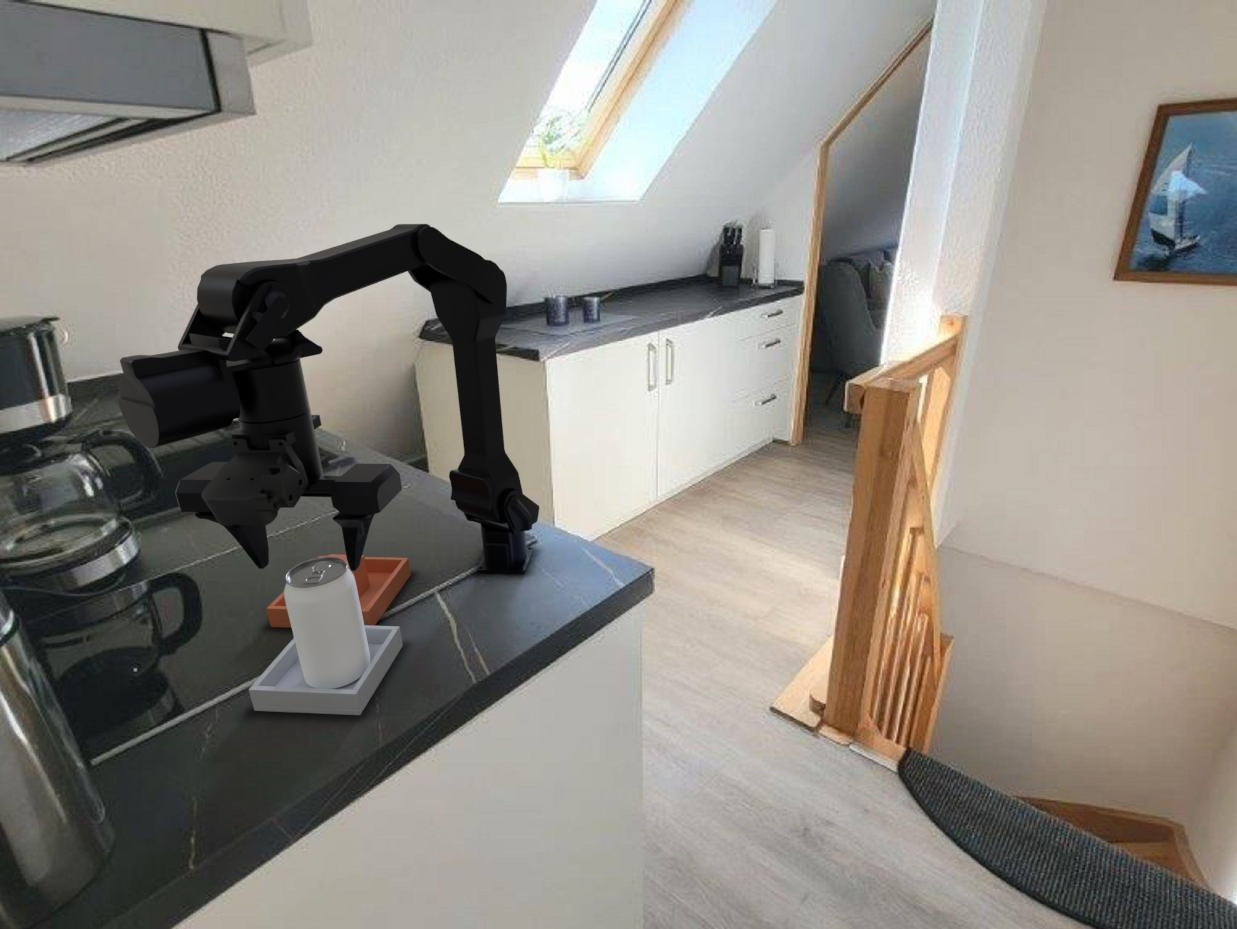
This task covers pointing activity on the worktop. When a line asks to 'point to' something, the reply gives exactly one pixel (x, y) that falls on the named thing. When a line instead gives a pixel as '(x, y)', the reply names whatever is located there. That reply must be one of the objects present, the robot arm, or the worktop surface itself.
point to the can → (327, 622)
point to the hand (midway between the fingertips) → (309, 567)
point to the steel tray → (292, 694)
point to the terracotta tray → (375, 600)
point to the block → (358, 574)
